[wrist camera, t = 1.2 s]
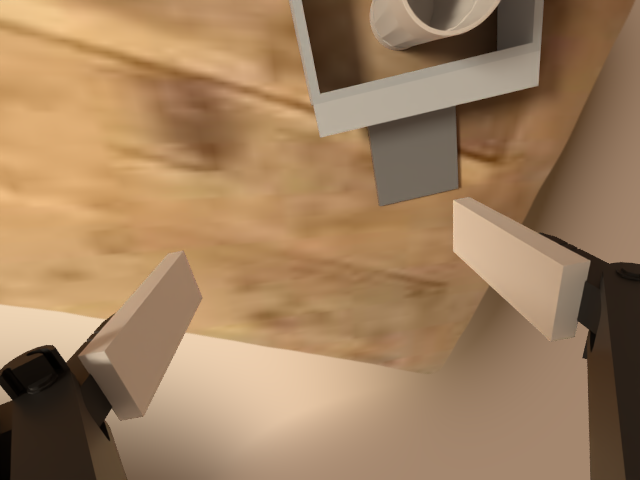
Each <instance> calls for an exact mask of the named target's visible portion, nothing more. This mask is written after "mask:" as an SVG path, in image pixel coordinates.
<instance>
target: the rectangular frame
mask: <svg viewBox="0 0 640 480" xmlns="http://www.w3.org/2000/svg"><path fill="white" fill-rule="evenodd" d="M289 3H290V7H291V12H292V17H293V22H294V26H295V31H296V36H297V40H298V45H299V50H300V55H301V59H302V64H303V69H304V74H305V78H306V83H307V88H308V92H309V97H310V102H311V105H314V110H315V115H316V120H317V125H318V129H319V134H320V138H321V137H325V136H329V135H333V134H337V133H342V132H346V131H350V130H354V129H358V128H363V127H367V126H371V125H375V124H379V123H384V122H388V121H392V120H396V119H400V118H405V117H409V116H413V115H417V114H422V113H426V112H430V111H434V110H438V109H443V108H447V107H451V106H455V105H459V104H464V103H468V102H472V101H476V100H480V99H485V98H489V97H493V96H497V95H501V94H506V93H510V92H514V91H518V90H523V89H527V88H531V87H535V86H538V83H539V67H540V52H541V37H542V22H543V6H544V0H501V1H500V3H499V4H498V18H497V51H496V52H491V53H487V54H483V55H479V56H475V57H471V58H467V59H462V60H458V61H454V62H450V63H446V64H442V65H438V66H433V67H429V68H425V69H421V70H417V71H413V72H409V73H404V74H400V75H396V76H392V77H388V78H384V79H379V80H375V81H371V82H367V83H363V84H359V85H355V86H350V87H346V88H342V89H338V90H334V91H330V92H326V93H321V94H320V91H319V86H318V81H317V76H316V71H315V66H314V61H313V56H312V51H311V46H310V41H309V36H308V31H307V25H306V20H305V15H304V10H303V5H302V0H289Z"/></svg>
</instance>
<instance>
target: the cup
mask: <svg viewBox="0 0 640 480" xmlns="http://www.w3.org/2000/svg"><path fill="white" fill-rule="evenodd" d="M500 1H501V0H373V1H372V4H371V9H370V24H371V28H372V31H373V33H374V35H375V37H376V39H377V40H378V41H379V42H380V43H381V44H382V45H383V46H385V47H386V48H388V49H391V50H404V49H407V48H410V47H412V46H415V45H419V44H422V43H426V42H430V41H433V40H437V39H442V38H446V37H450V36H455V35H459V34H462V33H465V32H467V31H469V30H471V29H473V28H475V27H476V26H478V25H479V24H481V23H482V22H483V21H484V20H485V19H486V18H487V17H488V16H489V15H490V14H491V13H492V12H493V11H494V10H495V8H496V7H497V6H498V4H499V3H500Z"/></svg>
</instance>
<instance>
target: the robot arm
mask: <svg viewBox="0 0 640 480" xmlns="http://www.w3.org/2000/svg"><path fill="white" fill-rule="evenodd" d="M453 251H454V252H455V253H456V254H457V255H458V256H459V257H460V258H461V259H462V260H463V261H464V262H465V263H467V264H468V265H469V266H470V267H471V268H472V269H473V270H474V271H475V272H476V273H477V274H478V275H479V276H481V277H482V278H483V279H484V280H485V281H486V282H487V283H488V284H489V285H490V286H491V287H492V288H493V289H495V290H496V291H497V292H498V293H499V294H500V295H501V296H502V297H503V298H504V299H505V300H506V301H507V302H509V303H510V304H511V305H512V306H513V307H514V308H515V309H516V310H517V311H518V312H520V314H521V315H523V316H524V317H525V318H526V319H527V320H528V321H529V322H530V323H531V324H532V325H533V326H534V327H535V328H537V329H538V330H539V331H540V332H541V333H542V334H543V335H544V336H545V337H546V338H547V339H548V340H550V341H557V340H562V339H568V338H573V337H575V333H576V328H577V324H578V321H579V322H580V323H581V324H583V325H584V326H585V327H587V328H588V329H589V332H588V336H587V340H586V345H585V349H584V353H583V358H585V359H587V363H588V364H587V366H588V400H589V438H590V476H591V480H640V264H635V263H623V262H620V263H611V264H609V263H607V262H605V261H603V260H601V259H599V258H596V257H595V256H593V255H591V254H589V253H587V252H585V251H583V250H581V249H577V247H575V246H573V245H571V244H568V243H567V242H565V241H563V240H561V239H559V238H557V237H555V236H551V235H547V234H544V233H536V232H535V231H533V230H531V229H529V228H527V227H525V226H523V225H521V224H520V223H518V222H516V221H514V220H512V219H510V218H508V217H506V216H504V215H502V214H501V213H499V212H497V211H495V210H493V209H491V208H489V207H487V206H485V205H483V204H482V203H480V202H478V201H476V200H474V199H472V198H470V197H466V198H461V199H456V200H453ZM201 300H202V295H201V293H200V290H199V288H198V285H197V283H196V280H195V278H194V275H193V273H192V270H191V268H190V265H189V263H188V260H187V258H186V255H185V253H184V251H179V252H174V253H168V254H167V255H166V257H165V258H164V259H163V260H162V261H161V262H160V263H159V265H158V266H157V267H156V268H155V269H154V270H153V271H152V272H151V274H150V275H149V276H148V277H147V278H146V279H145V280H144V282H143V283H142V284H141V285H140V286H139V287H138V288H137V289H136V291H135V292H134V293H133V294H132V295H131V296H130V297H129V299H128V300H127V301H126V302H125V303H124V304H123V305H122V307H121V308H120V309H119V310H118V311H117V312H116V313H115V314H113V315H112V316H111V317H109V318H108V319H107V320H105V321H104V322H103V323H102V324H101V325H100V326H99V327H98V328H97V329H96V330H95V331H94V334H92V335H91V336H90V337H89V338H88V339H87V342H85V343H84V344H83V345H82V346H81V347H80V348H79V349H78V350H77V351H76V353H75V354H74V355H73V356H72V357H71V358H70V359H69V360H68V361H67V362H65V361H64V359H63V358H62V357H61V356H60V354H59V352H58V351H57V349H56V348H55V347H54V346H53V345H45V346H41V347H37V348H35V349H32V350H30V351H27V352H25V353H23V354H22V355H20V356H18V357H16V358H15V359H13V360H12V361H10V362H9V363H8V364H6V365H5V366H4V367H3V368H2V369H1V370H0V385H1V387H2V388H3V389H4V390H5V391H6V393H7V394H8V395H9V396H10V397H11V399H12V401H10V402H7V403H5V404H2V405H0V480H127V477H126V474H125V471H124V468H123V465H122V462H121V459H120V457H119V453H118V450H117V447H116V444H115V441H114V438H113V435H112V433H111V429H110V427H109V425H108V424H107V422H106V421H105V418H106V416H107V415H108V413H109V412H110V410H111V408H112V409H113V411H114V412H115V414H116V415H117V417H118V418H119V420H120V421H122V420H127V419H132V418H138V417H143V416H144V415H145V413H146V410H147V408H148V406H149V404H150V402H151V400H152V398H153V396H154V394H155V392H156V390H157V388H158V386H159V384H160V382H161V380H162V378H163V376H164V374H165V372H166V370H167V368H168V366H169V364H170V362H171V360H172V358H173V356H174V354H175V352H176V350H177V348H178V346H179V344H180V342H181V340H182V338H183V336H184V334H185V332H186V330H187V328H188V326H189V324H190V322H191V320H192V318H193V316H194V314H195V312H196V310H197V308H198V306H199V304H200V302H201Z"/></svg>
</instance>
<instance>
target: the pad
mask: <svg viewBox="0 0 640 480" xmlns="http://www.w3.org/2000/svg"><path fill="white" fill-rule="evenodd" d="M367 128H368V135H369V141H370V148H371V155H372V162H373V169H374V175H375V182H376V189H377V196H378V203H379V206H383V205H388V204H392V203H396V202H401V201H405V200H409V199H414V198H418V197H422V196H427V195H431V194H435V193H440V192H444V191H448V190H453V189H457V188H458V165H457V136H456V107H455V106H451V107H447V108H443V109H438V110H434V111H430V112H426V113H422V114H417V115H413V116H409V117H405V118H400V119H396V120H392V121H388V122H384V123H379V124H375V125H371V126H367Z"/></svg>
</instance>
